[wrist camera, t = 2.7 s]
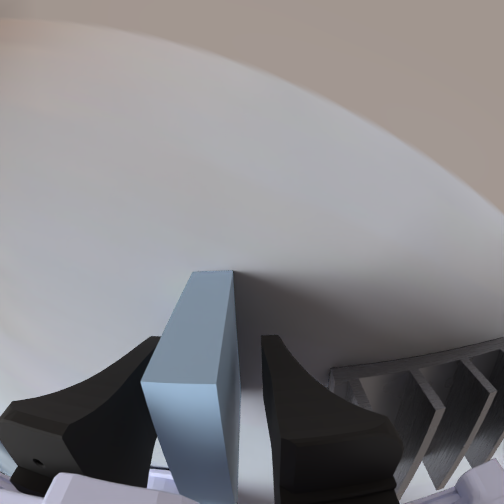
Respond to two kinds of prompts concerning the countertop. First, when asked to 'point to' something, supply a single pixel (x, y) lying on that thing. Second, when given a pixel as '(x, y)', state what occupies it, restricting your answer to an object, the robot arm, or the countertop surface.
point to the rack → (434, 406)
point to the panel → (199, 390)
